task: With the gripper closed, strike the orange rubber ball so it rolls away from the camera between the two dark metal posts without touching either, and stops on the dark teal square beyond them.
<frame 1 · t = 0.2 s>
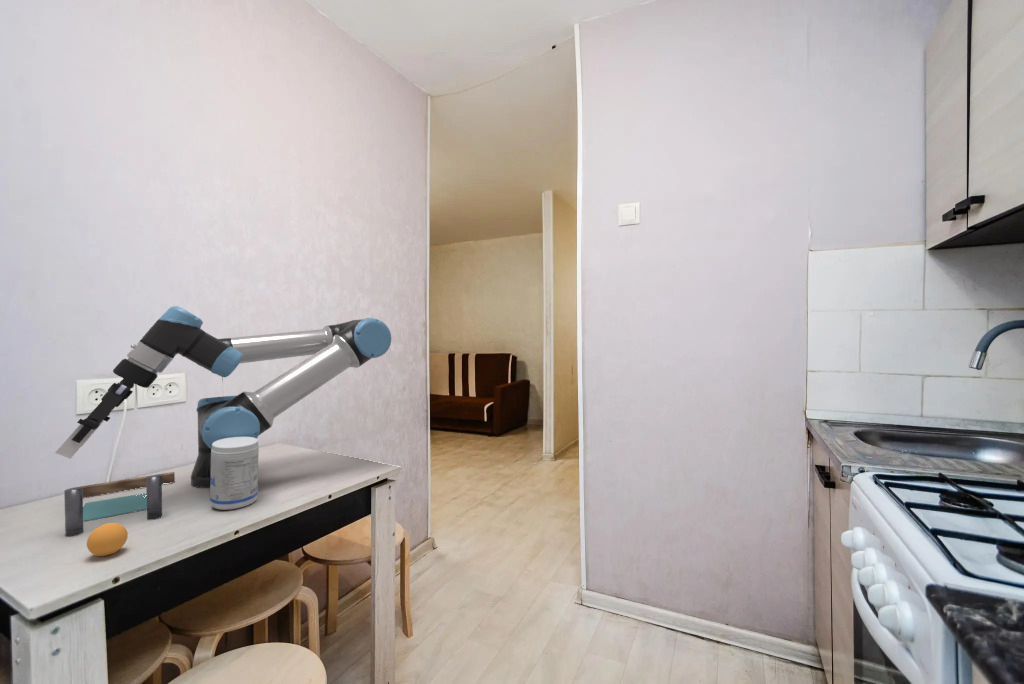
hand: (69, 449, 95), 16 cm above the table, tool tilted 35°, fingers open, 13 cm apart
supplement tub: (234, 503, 104), on the table, touching arm
right post: (154, 517, 97), on the table
left post: (74, 533, 89), on the table
brown wooden bar: (126, 489, 115), on the table
ball: (107, 539, 80), on the table
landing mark: (121, 505, 104), on the table
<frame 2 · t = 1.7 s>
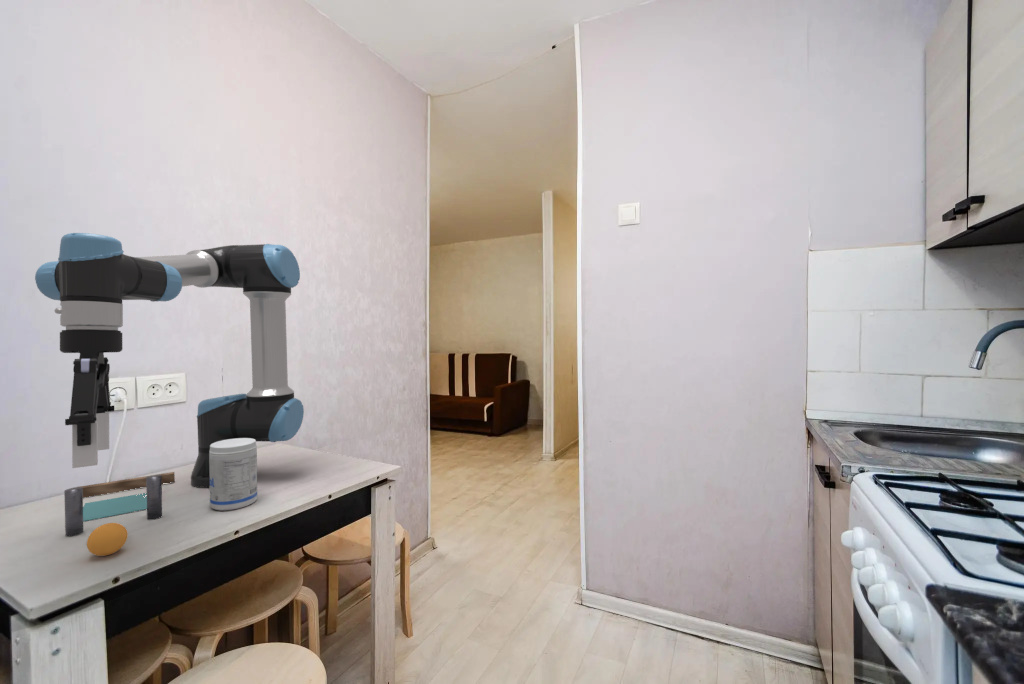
hand: (92, 457, 73), 20 cm above the table, tool pointing down, fingers open, 13 cm apart
supplement tub: (234, 504, 104), on the table
everything else where it was.
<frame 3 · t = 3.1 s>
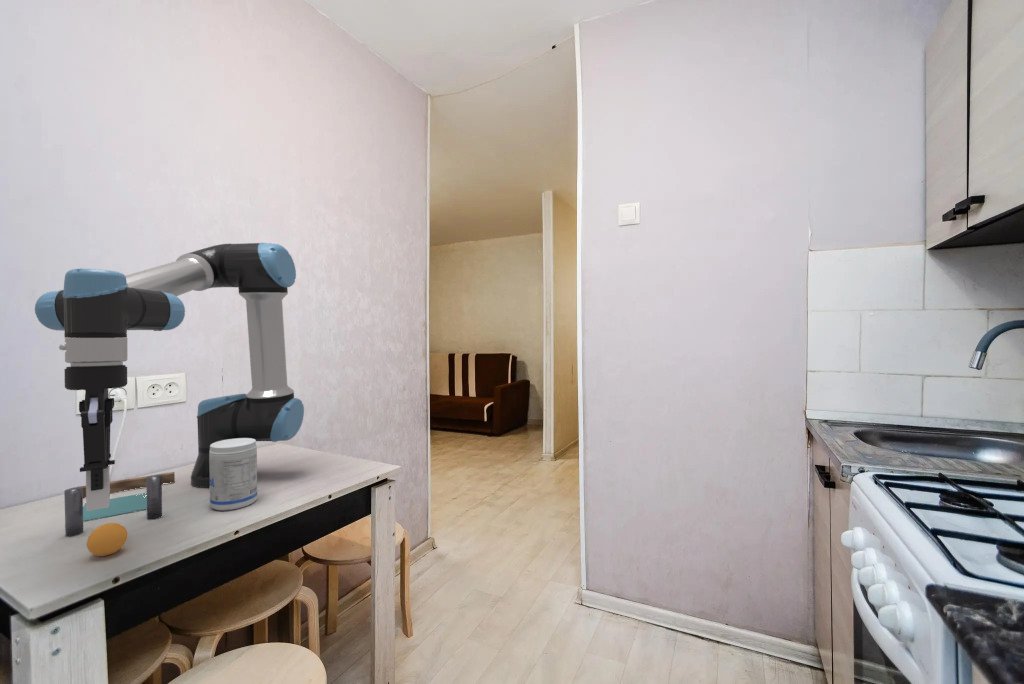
hand: (98, 507, 73), 11 cm above the table, tool pointing down, fingers closed
nothing on the table moved.
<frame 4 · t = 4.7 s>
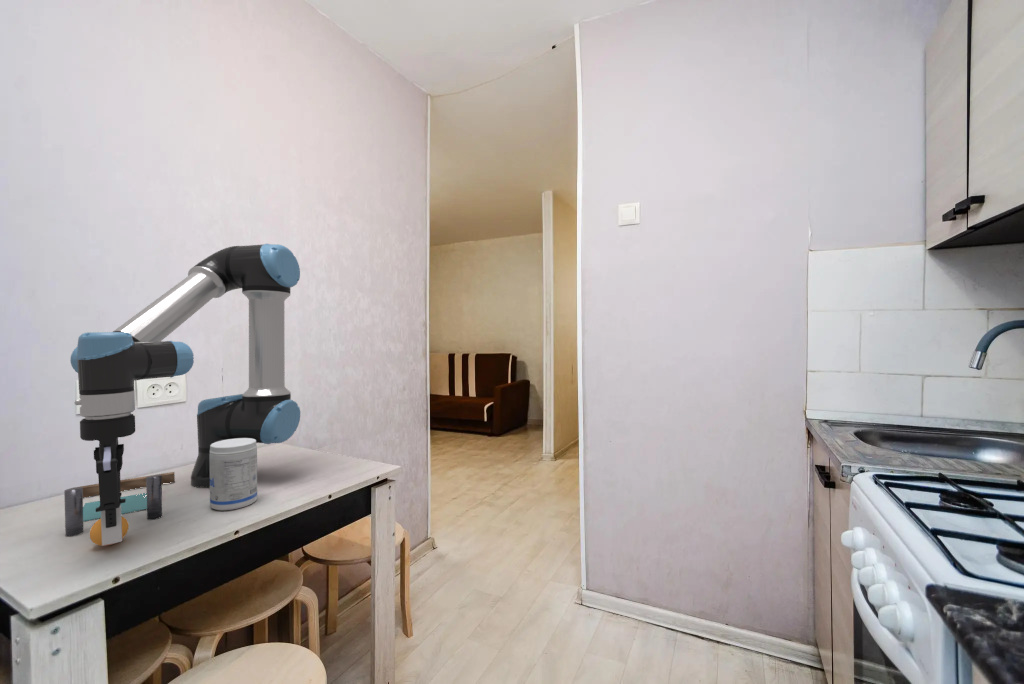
hand: (112, 542, 82), 2 cm above the table, tool pointing down, fingers closed
ball: (109, 530, 84), on the table
everything else where it was.
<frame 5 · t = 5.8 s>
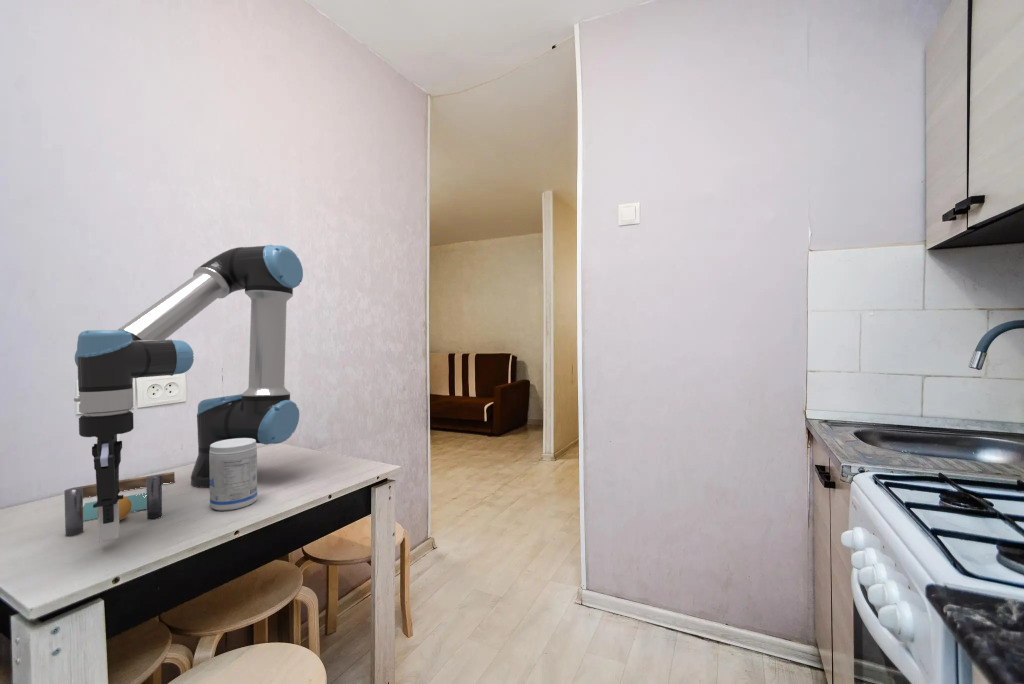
hand: (109, 537, 83), 2 cm above the table, tool pointing down, fingers closed
ball: (114, 508, 95), on the table
everything else where it was.
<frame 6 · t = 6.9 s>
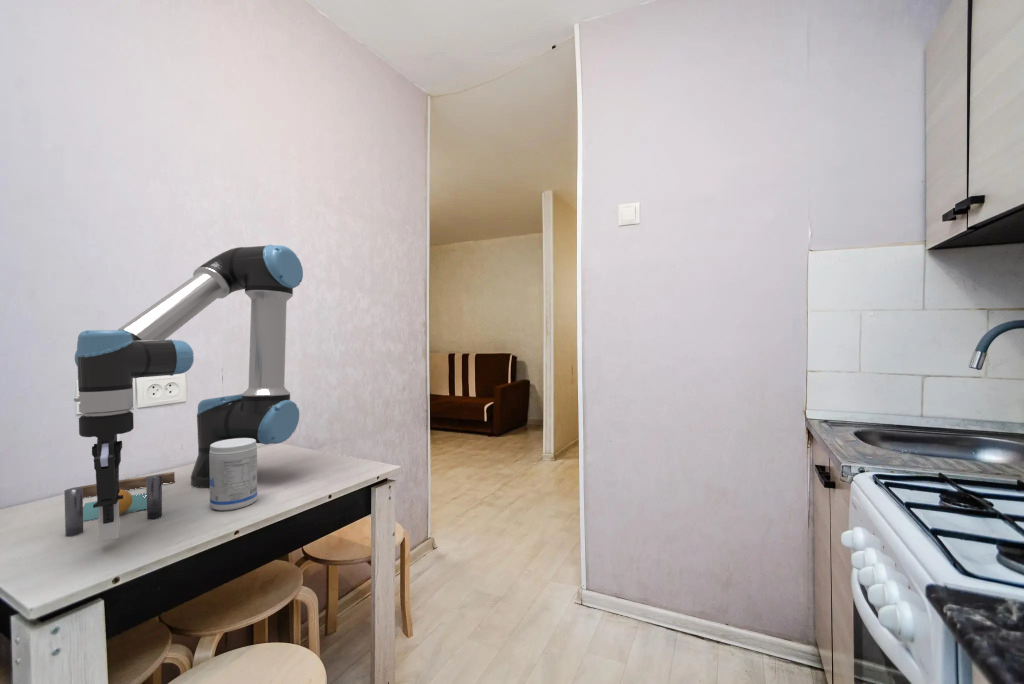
hand: (109, 537, 83), 2 cm above the table, tool pointing down, fingers closed
ball: (116, 502, 99), on the table
everything else where it was.
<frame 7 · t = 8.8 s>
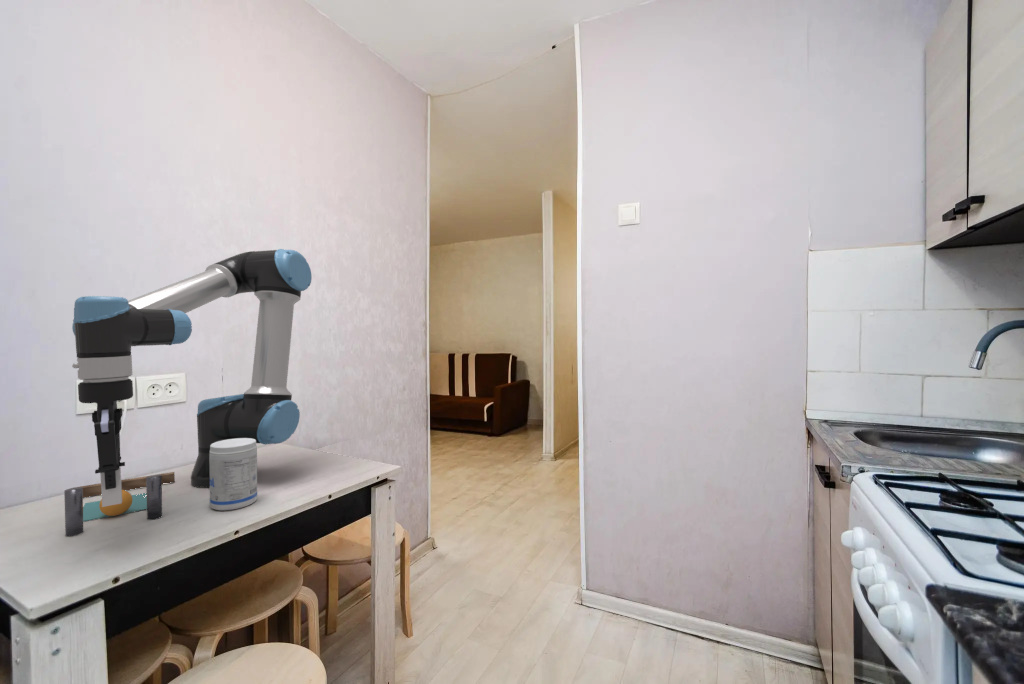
hand: (112, 503, 83), 8 cm above the table, tool pointing down, fingers closed
nothing on the table moved.
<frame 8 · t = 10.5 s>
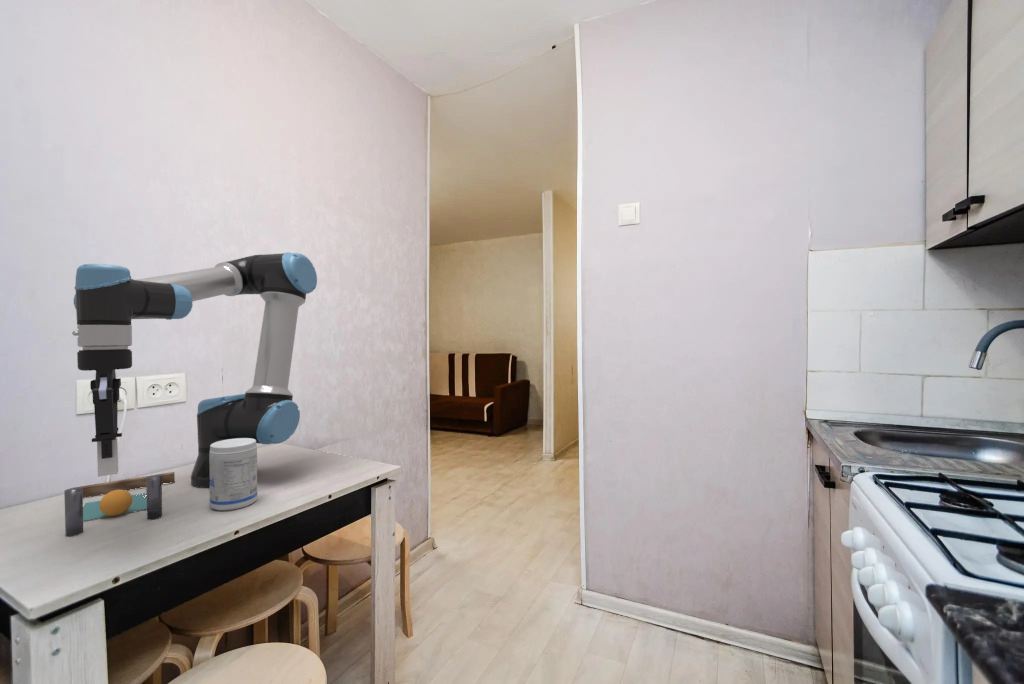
hand: (108, 474, 83), 14 cm above the table, tool pointing down, fingers closed
nothing on the table moved.
at the end: ball 6.7 cm from the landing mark (horizontally); ball never touched left post; ball never touched right post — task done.
